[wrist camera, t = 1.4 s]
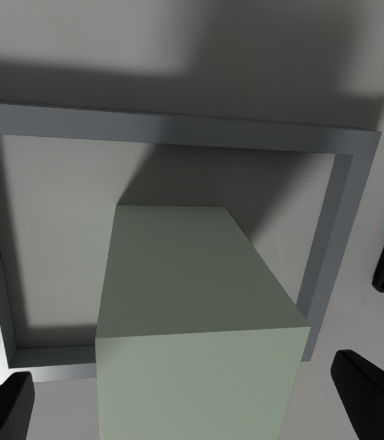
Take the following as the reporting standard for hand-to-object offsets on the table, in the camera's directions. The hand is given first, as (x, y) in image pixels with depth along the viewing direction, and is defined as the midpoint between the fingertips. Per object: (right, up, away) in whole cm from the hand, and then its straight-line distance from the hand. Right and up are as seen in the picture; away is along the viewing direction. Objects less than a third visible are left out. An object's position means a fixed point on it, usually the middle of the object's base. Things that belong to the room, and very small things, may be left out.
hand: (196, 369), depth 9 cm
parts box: (-1, +3, +6) cm, 7 cm away
